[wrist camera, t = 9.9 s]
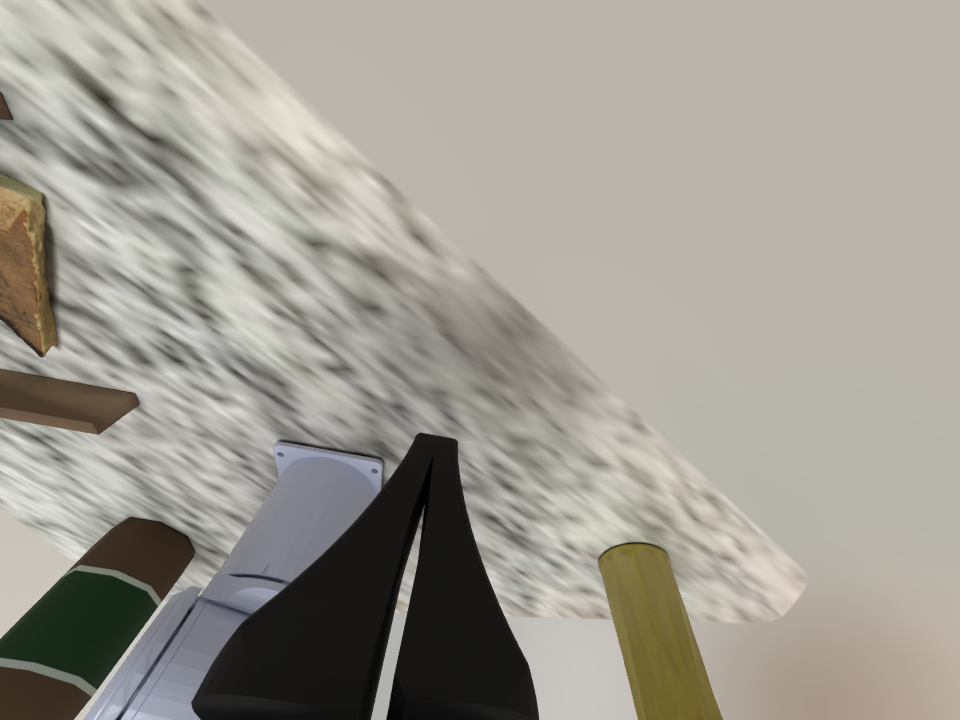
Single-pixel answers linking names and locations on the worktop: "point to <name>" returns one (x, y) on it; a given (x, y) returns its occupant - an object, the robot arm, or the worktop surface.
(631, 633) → the olive green rod
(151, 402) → the worktop surface
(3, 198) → the shard
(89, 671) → the beer bottle
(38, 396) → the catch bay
